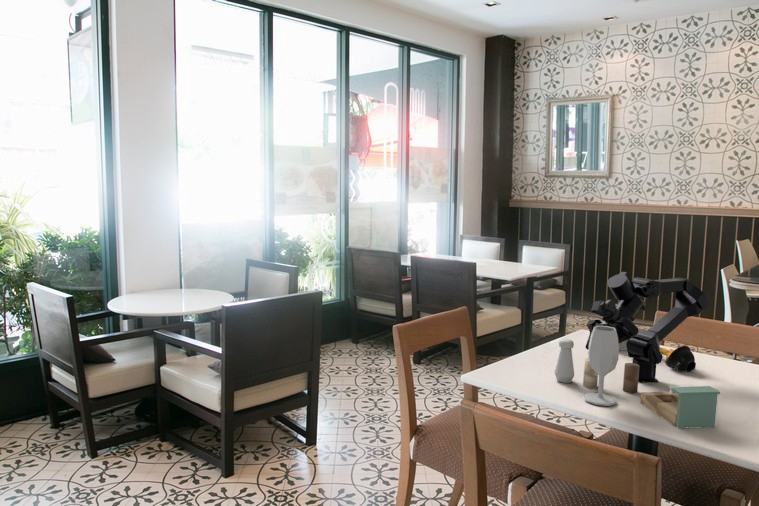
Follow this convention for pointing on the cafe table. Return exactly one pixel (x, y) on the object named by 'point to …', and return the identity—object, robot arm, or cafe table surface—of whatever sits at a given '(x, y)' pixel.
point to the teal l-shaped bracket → (696, 406)
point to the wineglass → (602, 361)
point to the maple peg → (589, 376)
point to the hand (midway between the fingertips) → (595, 348)
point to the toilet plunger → (679, 358)
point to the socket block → (661, 404)
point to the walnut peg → (631, 378)
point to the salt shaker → (565, 362)
